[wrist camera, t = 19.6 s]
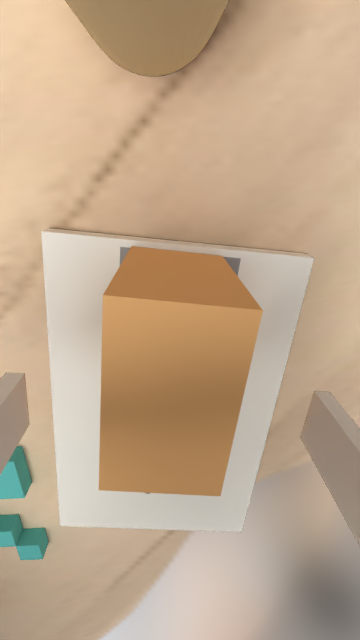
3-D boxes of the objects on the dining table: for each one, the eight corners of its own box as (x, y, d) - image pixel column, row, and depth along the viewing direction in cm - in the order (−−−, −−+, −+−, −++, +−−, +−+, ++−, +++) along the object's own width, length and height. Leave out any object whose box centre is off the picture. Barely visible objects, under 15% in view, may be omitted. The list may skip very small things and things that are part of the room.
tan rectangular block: (201, 382, 25) (220, 496, 16) (124, 376, 25) (98, 490, 16) (222, 255, 21) (263, 310, 12) (131, 245, 21) (103, 295, 12)
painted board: (238, 518, 34) (241, 532, 32) (64, 511, 33) (59, 526, 31) (305, 253, 23) (314, 258, 22) (49, 228, 22) (41, 231, 20)
